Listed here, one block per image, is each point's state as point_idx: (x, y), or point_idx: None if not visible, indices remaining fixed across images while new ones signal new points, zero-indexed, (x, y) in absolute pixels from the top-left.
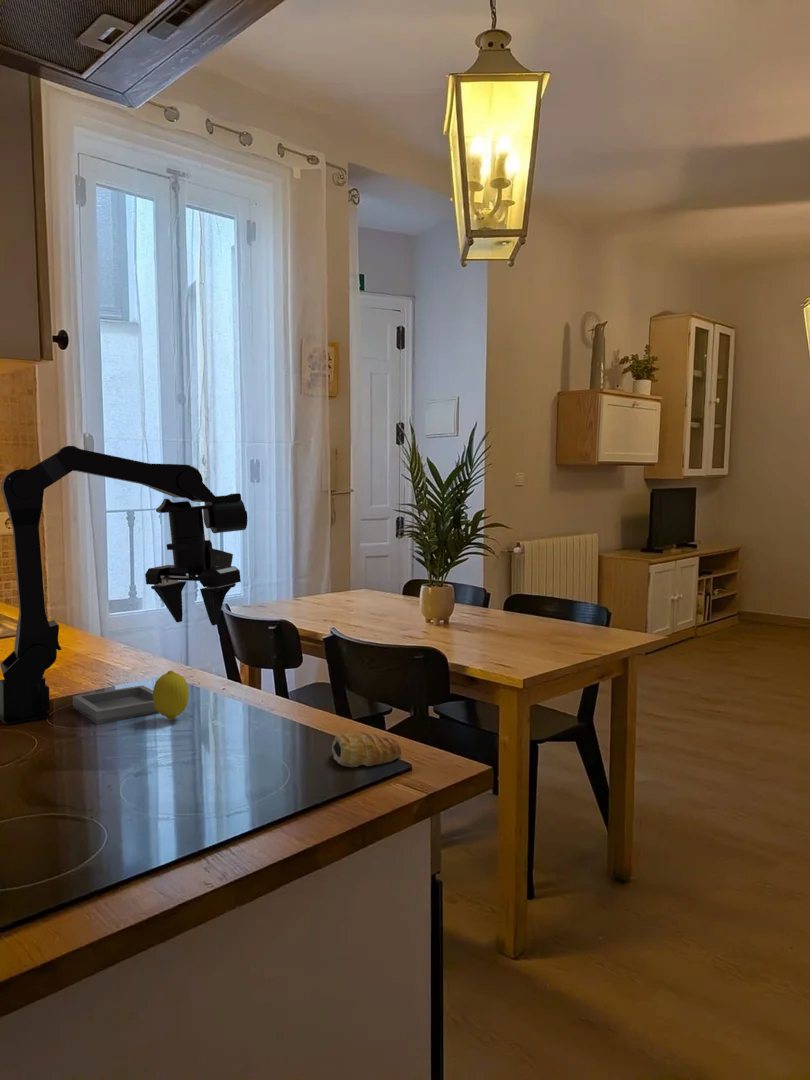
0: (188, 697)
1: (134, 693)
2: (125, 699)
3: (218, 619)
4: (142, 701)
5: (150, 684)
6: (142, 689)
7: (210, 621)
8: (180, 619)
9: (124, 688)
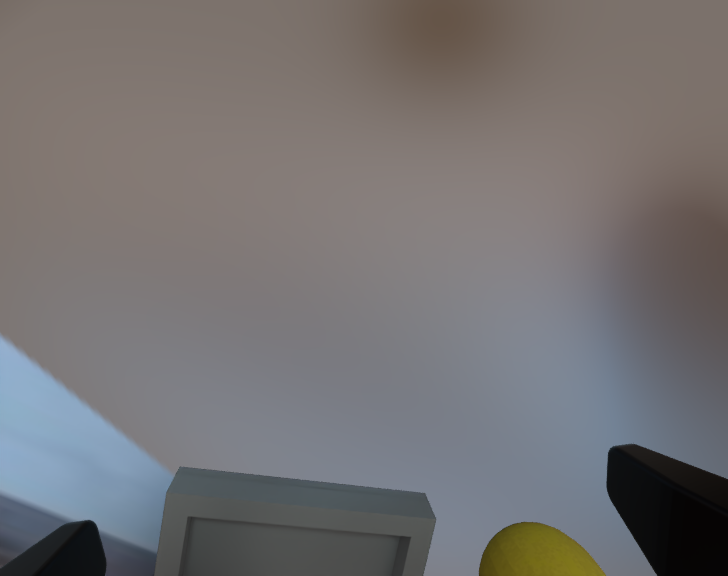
0: (587, 552)
1: (190, 520)
2: (217, 557)
3: (680, 466)
4: (288, 529)
5: (4, 348)
6: (220, 517)
7: (638, 537)
8: (88, 556)
9: (161, 564)
